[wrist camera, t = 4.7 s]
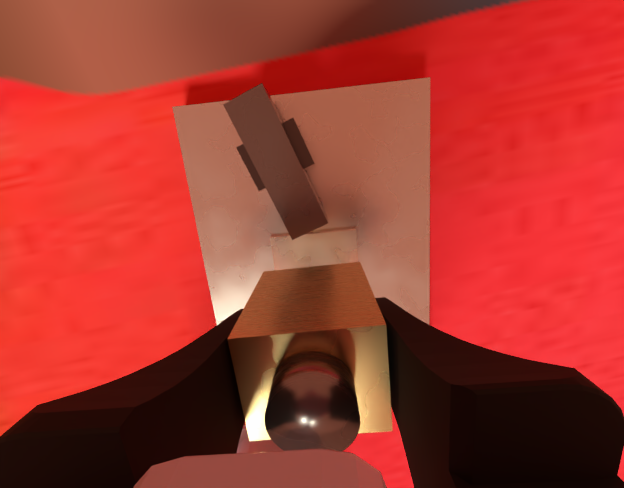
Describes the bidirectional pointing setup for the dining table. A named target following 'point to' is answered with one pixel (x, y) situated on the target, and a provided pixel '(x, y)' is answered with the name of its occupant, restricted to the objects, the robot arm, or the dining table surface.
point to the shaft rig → (312, 187)
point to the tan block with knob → (312, 358)
